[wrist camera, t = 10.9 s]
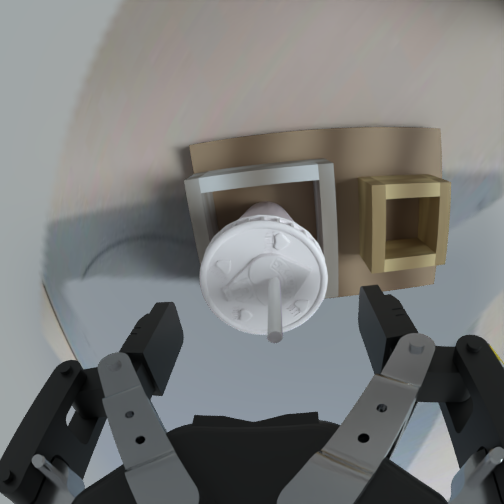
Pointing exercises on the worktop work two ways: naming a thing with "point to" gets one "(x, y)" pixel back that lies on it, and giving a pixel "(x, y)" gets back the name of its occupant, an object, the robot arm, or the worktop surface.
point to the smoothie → (264, 273)
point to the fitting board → (335, 198)
